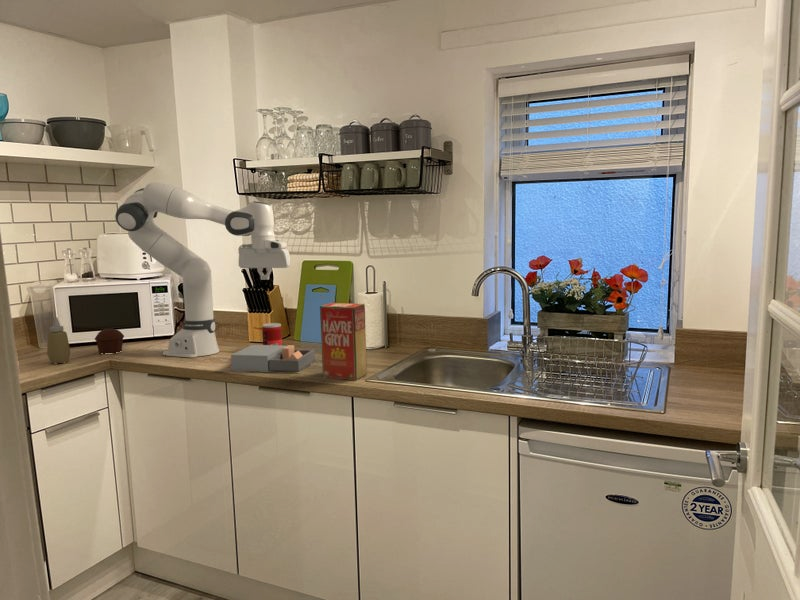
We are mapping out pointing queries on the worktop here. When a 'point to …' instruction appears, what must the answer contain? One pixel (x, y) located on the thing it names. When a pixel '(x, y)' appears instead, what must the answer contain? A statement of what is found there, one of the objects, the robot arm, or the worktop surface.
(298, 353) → the tile
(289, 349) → the tile
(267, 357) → the grey rectangular box
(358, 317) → the food packaging
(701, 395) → the worktop surface
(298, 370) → the box
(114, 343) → the muffin
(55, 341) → the squeeze bottle
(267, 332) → the canned food
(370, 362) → the worktop surface
